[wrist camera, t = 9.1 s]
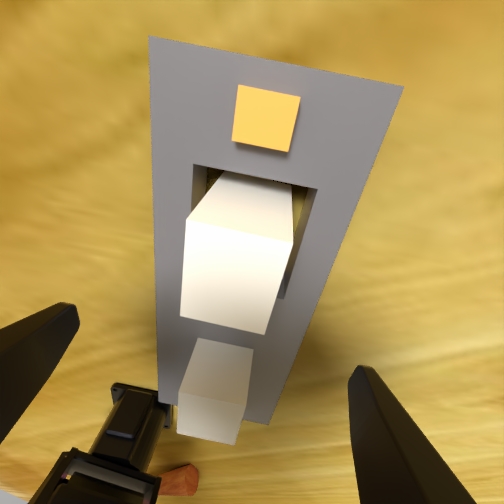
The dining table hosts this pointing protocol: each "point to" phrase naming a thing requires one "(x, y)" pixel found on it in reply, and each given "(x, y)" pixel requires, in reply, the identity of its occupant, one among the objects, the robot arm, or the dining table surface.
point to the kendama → (179, 481)
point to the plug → (237, 252)
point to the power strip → (260, 165)
